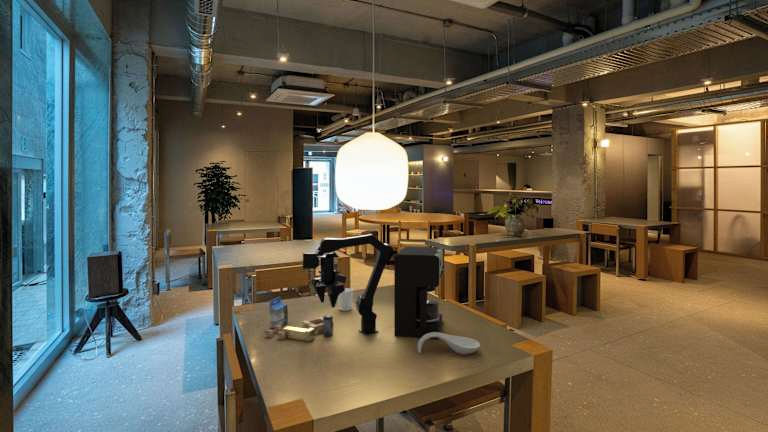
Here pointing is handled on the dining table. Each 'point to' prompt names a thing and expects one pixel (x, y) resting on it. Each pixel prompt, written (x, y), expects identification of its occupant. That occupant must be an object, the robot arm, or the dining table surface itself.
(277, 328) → the pin guide
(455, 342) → the spoon rest
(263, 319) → the dining table surface
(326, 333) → the black cylinder
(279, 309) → the label tape box
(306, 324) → the dock block
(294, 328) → the tan rectangular block
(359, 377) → the dining table surface
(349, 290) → the white cup
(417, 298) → the coffee maker
